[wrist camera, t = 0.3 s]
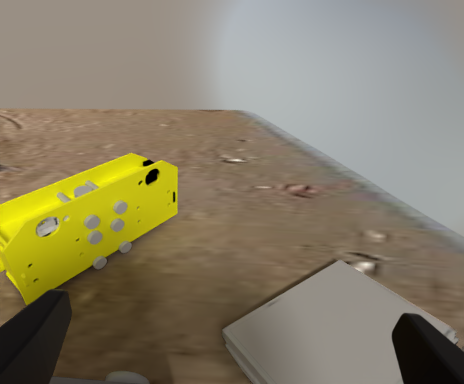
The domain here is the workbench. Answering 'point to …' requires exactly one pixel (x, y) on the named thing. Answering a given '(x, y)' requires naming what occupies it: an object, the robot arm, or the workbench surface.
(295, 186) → the workbench surface
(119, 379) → the camera block
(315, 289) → the gadget
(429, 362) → the robot arm
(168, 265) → the workbench surface
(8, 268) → the yellow toy chassis
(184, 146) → the workbench surface
